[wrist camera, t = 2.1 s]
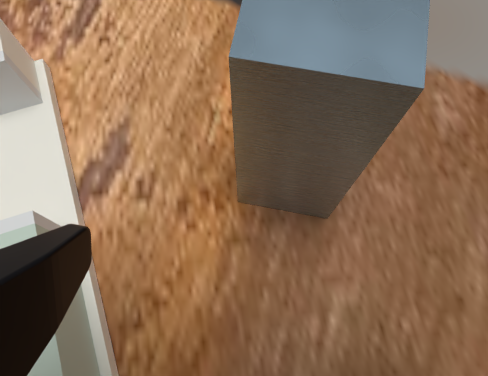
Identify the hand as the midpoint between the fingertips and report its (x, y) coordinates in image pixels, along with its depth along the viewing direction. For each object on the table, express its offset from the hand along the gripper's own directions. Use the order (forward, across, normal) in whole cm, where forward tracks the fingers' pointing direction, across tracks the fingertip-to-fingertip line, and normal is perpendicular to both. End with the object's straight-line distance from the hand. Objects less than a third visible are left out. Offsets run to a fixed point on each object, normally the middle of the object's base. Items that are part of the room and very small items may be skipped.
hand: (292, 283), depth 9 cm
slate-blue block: (+14, 0, +4) cm, 15 cm away
